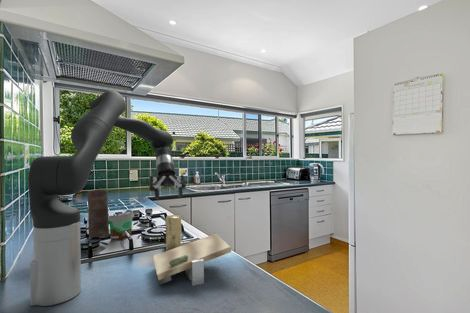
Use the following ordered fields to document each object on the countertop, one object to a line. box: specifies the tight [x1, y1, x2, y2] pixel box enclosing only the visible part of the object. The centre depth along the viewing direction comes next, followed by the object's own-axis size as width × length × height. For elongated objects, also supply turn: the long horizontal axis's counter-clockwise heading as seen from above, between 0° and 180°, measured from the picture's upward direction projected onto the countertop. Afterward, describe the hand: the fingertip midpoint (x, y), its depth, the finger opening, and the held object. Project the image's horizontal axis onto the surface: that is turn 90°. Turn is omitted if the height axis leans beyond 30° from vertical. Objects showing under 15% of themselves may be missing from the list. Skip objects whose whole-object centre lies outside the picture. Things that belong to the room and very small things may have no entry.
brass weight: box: [165, 214, 182, 251], centre depth 89 cm, size 5×5×12 cm
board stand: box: [180, 240, 205, 287], centre depth 73 cm, size 3×17×6 cm, turn 22°
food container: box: [108, 209, 135, 241], centre depth 105 cm, size 12×6×10 cm, turn 168°
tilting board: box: [152, 233, 232, 286], centre depth 73 cm, size 20×13×4 cm, turn 112°
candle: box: [87, 188, 110, 239], centre depth 105 cm, size 8×7×20 cm
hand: (169, 197), depth 101 cm, fingers open, 8 cm apart
